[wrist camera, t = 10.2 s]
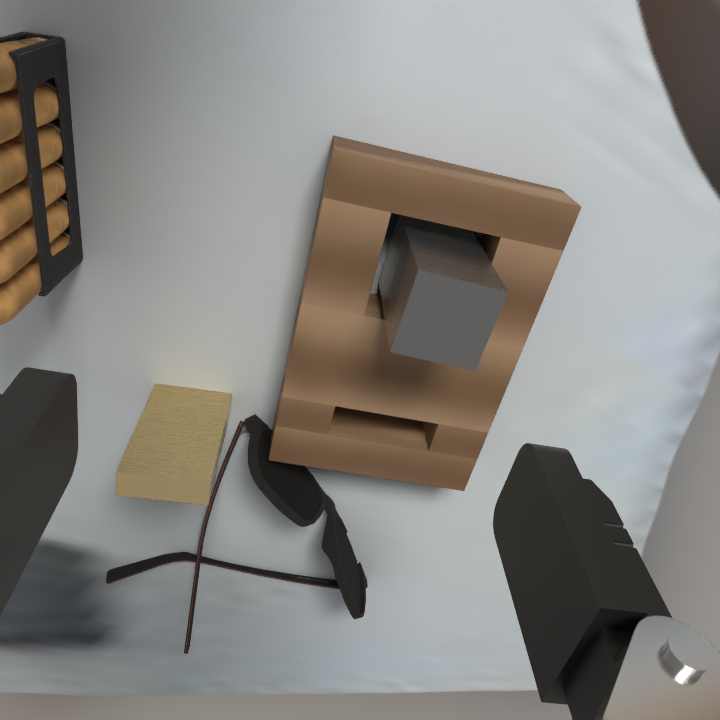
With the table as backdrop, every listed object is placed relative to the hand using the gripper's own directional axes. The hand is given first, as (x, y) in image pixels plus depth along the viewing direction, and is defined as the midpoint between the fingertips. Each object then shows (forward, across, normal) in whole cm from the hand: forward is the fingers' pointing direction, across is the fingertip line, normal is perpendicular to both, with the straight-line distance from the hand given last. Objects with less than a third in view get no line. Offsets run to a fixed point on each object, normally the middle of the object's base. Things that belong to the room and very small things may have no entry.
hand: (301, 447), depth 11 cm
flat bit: (+23, +5, +16) cm, 28 cm away
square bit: (+23, -6, +5) cm, 24 cm away
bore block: (+23, -6, +9) cm, 25 cm away
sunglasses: (+23, +1, +27) cm, 35 cm away
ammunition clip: (+23, +13, +3) cm, 27 cm away
